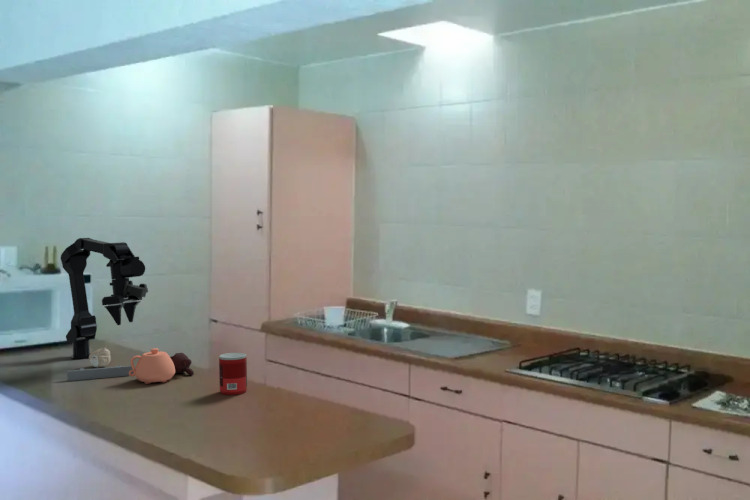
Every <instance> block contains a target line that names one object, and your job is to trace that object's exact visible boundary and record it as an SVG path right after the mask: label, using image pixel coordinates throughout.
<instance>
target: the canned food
mask: <svg viewBox="0 0 750 500" xmlns="http://www.w3.org/2000/svg"><path fill="white" fill-rule="evenodd" d="M247 362H248V359H247V354H246V353H245V352H244V353H243V352H228V353H222V354H219V355H218V367H219V368H218V372H219V392H220V394H221V395H224V396H236V395H242V394H244V393H246V392H247V390H248V367H247V366H248V363H247Z"/></svg>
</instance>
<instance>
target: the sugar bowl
mask: <svg viewBox="0 0 750 500" xmlns="http://www.w3.org/2000/svg"><path fill="white" fill-rule="evenodd" d="M170 357H171V356H170V355H169V354H168V353H167V352H166V351H161V350H160V351H159V348H157V347H156V348H155V347H154V348H150V351H148V352H143V353H142V354H141V355H134V356H132V357H131V359H130V366H132V369H133V370H130V371H129V375H130V377H135V378H136V379H137V380H138V381H139V382H144V384H145V385H148V384H151V383H157V382H158V383H159V382H160V383H167V382H168V381H169V380H171V379H173V377H174V375H175V374H176V373H175V366H174V363H173V361H172V360H171V358H170ZM136 359H139V360H138V361H137V364H136V365H134V360H136ZM131 372H133V374H131Z"/></svg>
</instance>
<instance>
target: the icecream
mask: <svg viewBox="0 0 750 500" xmlns="http://www.w3.org/2000/svg"><path fill="white" fill-rule="evenodd" d="M169 357H170V358H171V360H172V361H173V363H174V366H175V374H177V373H178V374H183V373H186V374H187V375H189V376H193V375H194V372H195V371H194V370H193V369H192V368H190V367H191V365H192V360H191V359H190V358H189V356H188V355H186V354H185V353H184V352H175V354H174V355H171V356H169Z"/></svg>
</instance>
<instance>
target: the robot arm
mask: <svg viewBox="0 0 750 500" xmlns="http://www.w3.org/2000/svg"><path fill="white" fill-rule="evenodd" d="M91 252H93V253H97V254H101V255H102V256H103V257H104V258H106V259H108V260H109V261H108V263H106V267H107V268H110V277H111V282H109V287H112V294H111V295H110V296H109V295H108V296H104V297H102V299H101V306H104V308H105V309H106V310H107V312H108V313H109V314H110V316H111V317H112V319H113V321H114V322H115V324H116V326H121V324H122V308H123V311H124V314H125V316H126V318H127V320H128V322H129V323H133V321H134V318H135V312H136V307H137V306H138V305H139V304H140V303H141V300H143V298H146V295H147V293H149V290H148V285H147V284H146V283H140V284H139V285H137V284H133V281H132V280H131V279H130V278H137V277H138V278H139V277H141V276H143V275H144V274H145V272H146V265H145V263H144V262H143V261H142V260H140V256H135V254H134V253H133V251H132V250H131V249H130V247H129V246H128V243H127V242H124V241H123V242H107V241H102V240H97V239H93V238H90V237H80V238H77V239H76V240H75V241H74V243H72V244H70V245H69V246H67V247H66V248H65V249H64V250H63V252H62V253H61V254H60V261H61V264H62V268H63V269H64V271H65V272H66V273H67V275H68V279H69V285H70V292H71V293H70V294H71V299H72V307H73V316H72V318H71V320H70V329H69V330H68V332H67V334H65V339H66V342H68V343H72V355H71V360H79V359H89V355H90V354H91V353H92V352H90V351H91V350H90V348H91V347H90V340H95V339H96V335H97V332H98V331H97V327H98V324H97V316H96V315H92V314H91V312H90V310H89V304H88V298H87V296H88V295H87V289H86V284H85V283H86V282H85V277H84V276H85V275H84V274H85V273H84V272H85V270H86V268H87V263H88V261H87V260H88V259H89V257H90V256H91Z"/></svg>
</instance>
